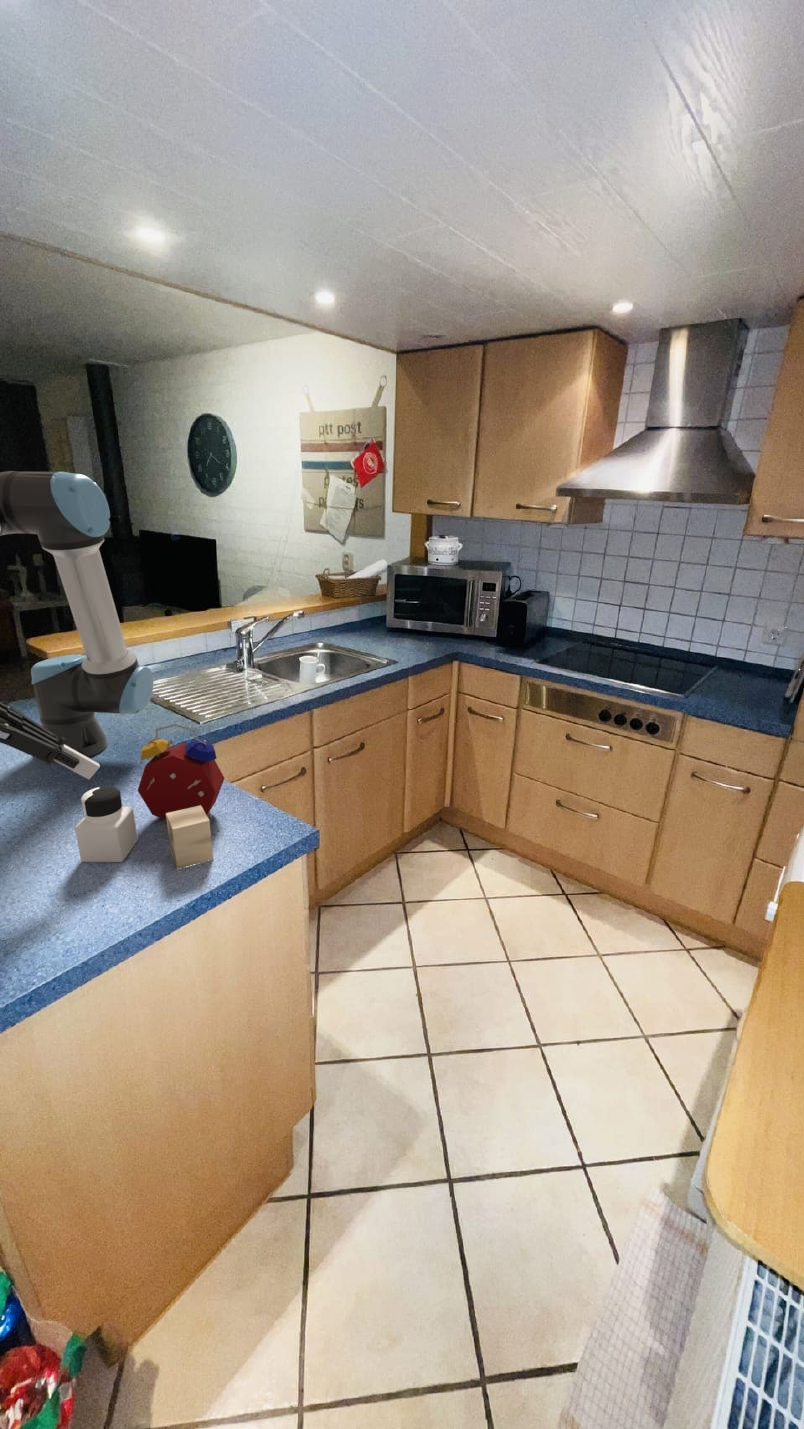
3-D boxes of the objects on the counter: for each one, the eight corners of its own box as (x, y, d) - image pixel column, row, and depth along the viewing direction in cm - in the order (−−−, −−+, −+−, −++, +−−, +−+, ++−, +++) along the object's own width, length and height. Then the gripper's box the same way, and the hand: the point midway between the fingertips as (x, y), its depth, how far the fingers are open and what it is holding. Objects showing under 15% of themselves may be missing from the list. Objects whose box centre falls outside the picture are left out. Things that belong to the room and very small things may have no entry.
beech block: (170, 852, 105) (165, 813, 102) (204, 843, 108) (200, 805, 105) (177, 869, 100) (172, 829, 97) (213, 859, 103) (209, 820, 100)
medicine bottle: (138, 840, 108) (129, 782, 104) (122, 863, 101) (112, 801, 97) (99, 840, 108) (88, 782, 104) (80, 862, 101) (68, 801, 97)
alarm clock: (227, 810, 119) (219, 718, 112) (215, 833, 111) (205, 736, 104) (155, 808, 119) (142, 716, 112) (136, 831, 111) (122, 734, 104)
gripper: (-65, 698, 90) (76, 774, 104) (-77, 726, 79) (82, 805, 93) (-31, 661, 90) (104, 741, 104) (-38, 683, 80) (113, 769, 94)
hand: (94, 771), depth 99 cm, fingers closed
